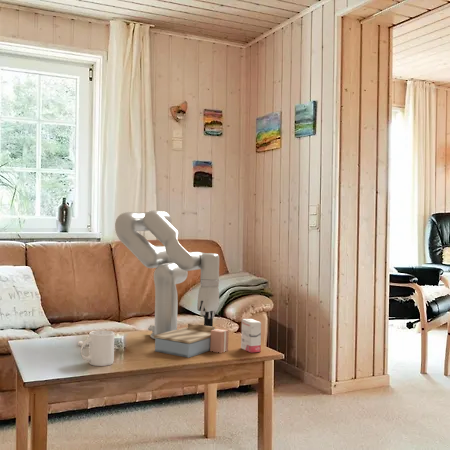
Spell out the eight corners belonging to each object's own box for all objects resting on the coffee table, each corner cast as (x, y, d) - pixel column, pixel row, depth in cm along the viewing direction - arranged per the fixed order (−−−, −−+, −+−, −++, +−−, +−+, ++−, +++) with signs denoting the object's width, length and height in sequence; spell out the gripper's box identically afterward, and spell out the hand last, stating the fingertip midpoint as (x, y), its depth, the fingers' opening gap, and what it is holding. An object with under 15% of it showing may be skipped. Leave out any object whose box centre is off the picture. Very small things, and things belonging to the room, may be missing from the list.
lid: (154, 337, 223) (154, 330, 223) (185, 329, 241) (185, 322, 241) (189, 343, 215) (189, 336, 215) (219, 334, 232) (219, 327, 232)
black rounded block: (75, 347, 228) (75, 336, 228) (87, 343, 236) (87, 333, 236) (93, 349, 225) (94, 339, 225) (105, 345, 232) (105, 335, 232)
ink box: (261, 352, 227) (262, 322, 227) (249, 353, 225) (250, 322, 225) (251, 347, 235) (252, 318, 235) (240, 348, 233) (241, 318, 233)
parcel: (210, 351, 226) (210, 330, 226) (217, 348, 231) (217, 328, 230) (221, 353, 224) (221, 332, 223) (228, 350, 228) (228, 330, 228)
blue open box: (154, 351, 224) (155, 338, 224) (185, 342, 241) (185, 330, 240) (188, 357, 215) (189, 344, 215) (218, 347, 232) (218, 335, 232)
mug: (75, 363, 203) (75, 332, 202) (106, 359, 210) (107, 329, 210) (85, 369, 196) (86, 337, 196) (118, 364, 203) (118, 333, 203)
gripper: (211, 281, 248) (210, 324, 248) (191, 284, 235) (190, 329, 236) (226, 282, 244) (225, 326, 245) (207, 285, 231) (205, 332, 232)
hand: (208, 327), depth 240 cm, fingers closed
